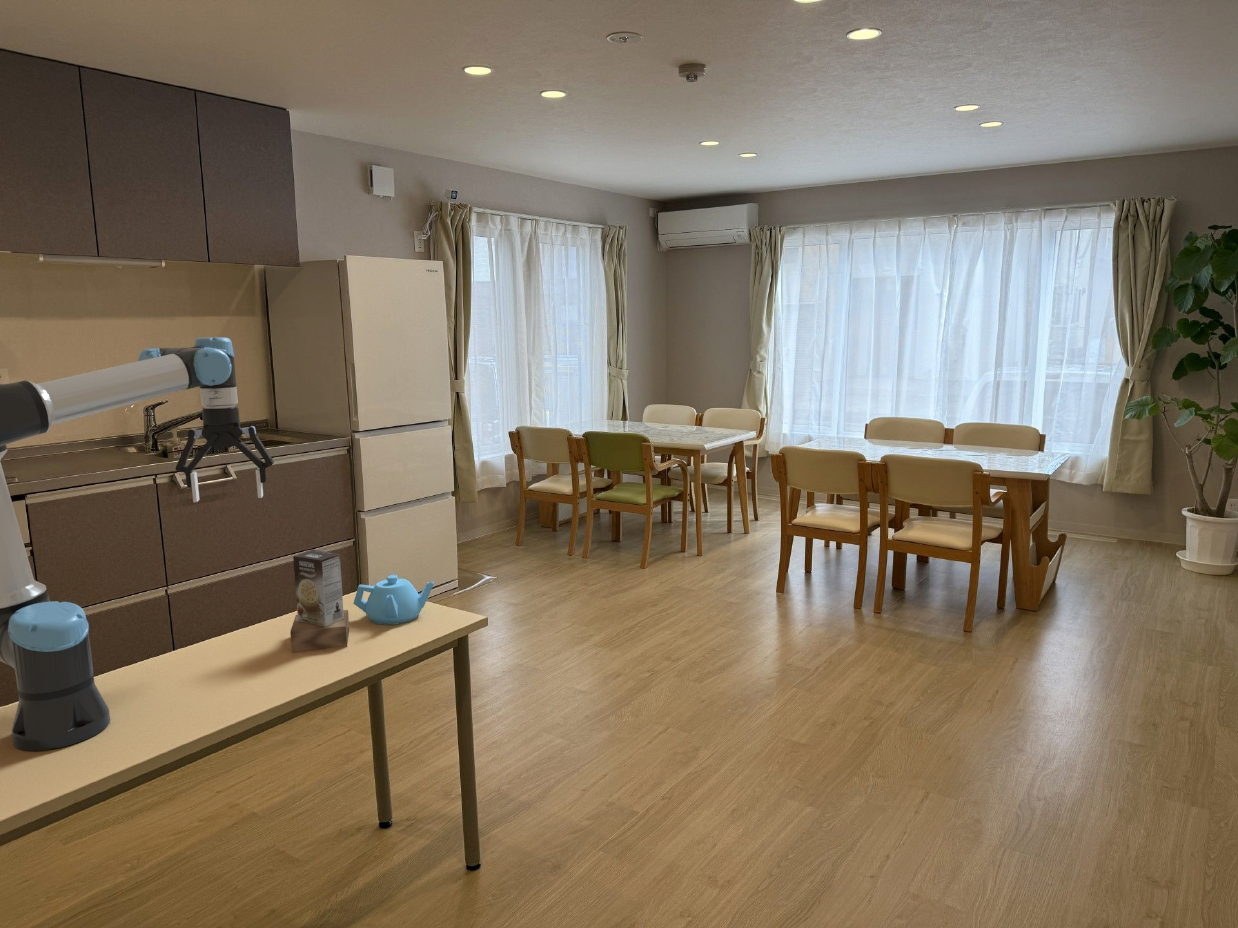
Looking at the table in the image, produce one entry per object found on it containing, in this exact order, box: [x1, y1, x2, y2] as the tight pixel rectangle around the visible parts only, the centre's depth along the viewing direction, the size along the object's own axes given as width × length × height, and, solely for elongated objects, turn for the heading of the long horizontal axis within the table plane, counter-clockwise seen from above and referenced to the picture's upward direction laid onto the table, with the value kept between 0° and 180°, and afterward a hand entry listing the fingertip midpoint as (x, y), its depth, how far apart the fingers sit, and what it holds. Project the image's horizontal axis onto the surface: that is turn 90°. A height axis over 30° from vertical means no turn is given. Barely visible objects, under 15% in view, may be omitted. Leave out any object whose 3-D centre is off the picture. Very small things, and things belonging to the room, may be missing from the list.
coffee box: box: [292, 549, 344, 627], centre depth 197 cm, size 9×6×16 cm
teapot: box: [352, 573, 435, 626], centre depth 214 cm, size 15×15×11 cm
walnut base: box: [289, 609, 350, 654], centre depth 199 cm, size 12×12×5 cm
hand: (228, 499), depth 193 cm, fingers open, 13 cm apart
